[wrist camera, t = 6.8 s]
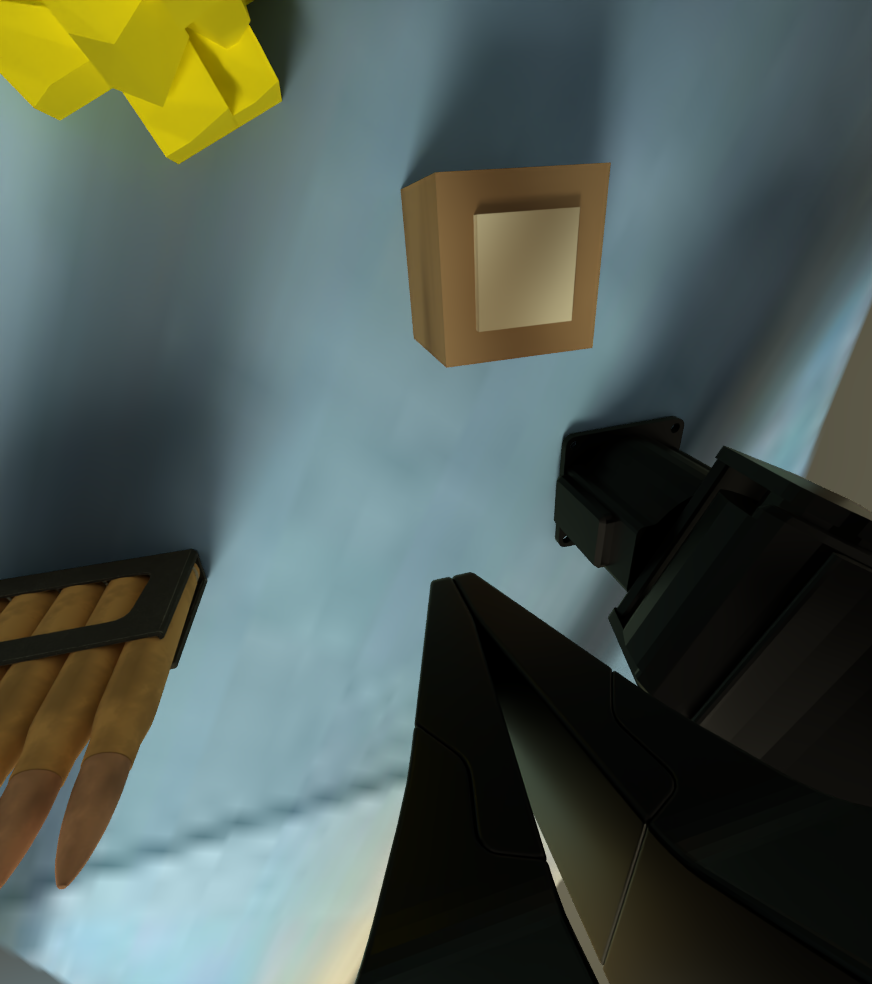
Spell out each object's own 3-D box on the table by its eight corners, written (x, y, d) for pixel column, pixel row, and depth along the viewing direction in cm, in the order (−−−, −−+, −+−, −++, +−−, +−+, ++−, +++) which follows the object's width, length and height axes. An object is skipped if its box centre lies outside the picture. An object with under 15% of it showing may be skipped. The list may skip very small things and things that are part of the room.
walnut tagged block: (533, 181, 17) (616, 161, 12) (529, 323, 19) (596, 349, 15) (400, 190, 16) (437, 170, 12) (413, 337, 18) (448, 369, 14)
